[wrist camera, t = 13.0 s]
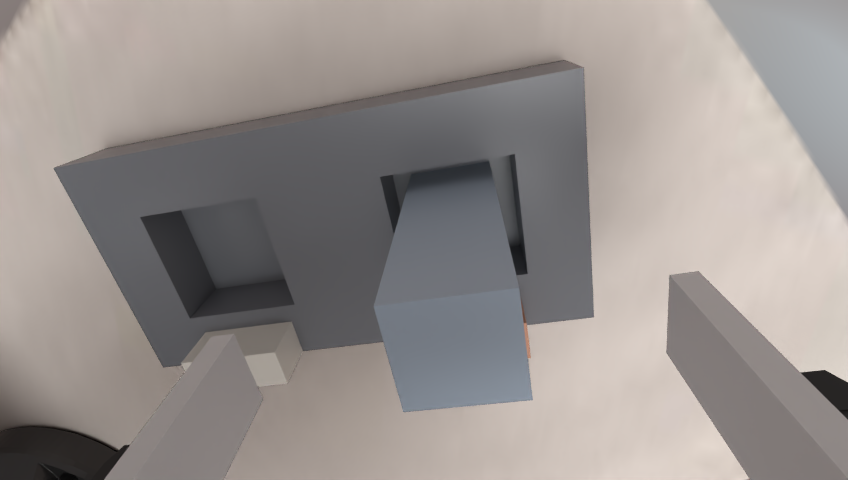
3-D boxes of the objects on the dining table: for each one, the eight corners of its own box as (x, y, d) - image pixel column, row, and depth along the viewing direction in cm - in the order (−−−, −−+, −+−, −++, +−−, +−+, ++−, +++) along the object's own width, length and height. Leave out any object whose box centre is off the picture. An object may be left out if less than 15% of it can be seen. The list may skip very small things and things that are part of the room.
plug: (425, 243, 25) (403, 412, 14) (411, 174, 23) (373, 306, 13) (498, 232, 25) (532, 399, 14) (489, 161, 23) (519, 287, 12)
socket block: (194, 330, 29) (135, 399, 24) (105, 148, 24) (5, 185, 19) (577, 281, 26) (608, 349, 21) (564, 60, 21) (602, 74, 16)
